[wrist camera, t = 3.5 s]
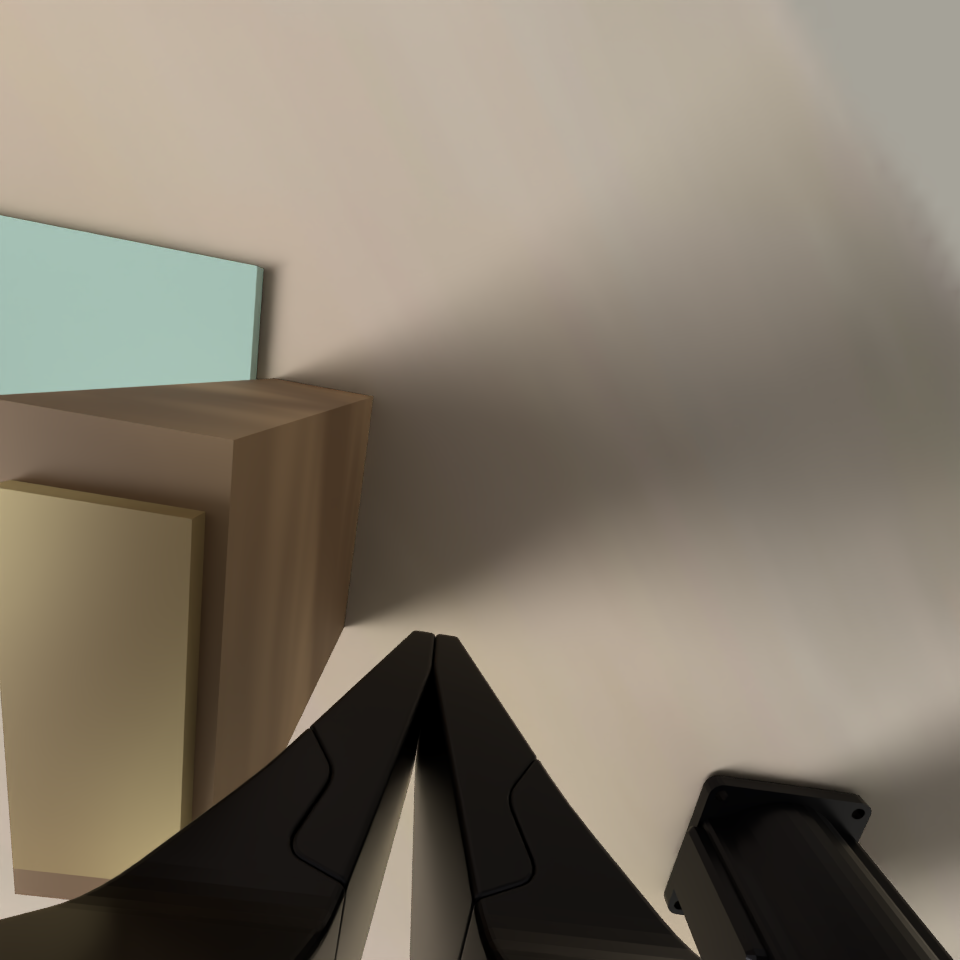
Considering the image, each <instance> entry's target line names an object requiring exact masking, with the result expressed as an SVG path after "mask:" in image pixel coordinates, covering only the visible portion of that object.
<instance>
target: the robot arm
mask: <svg viewBox="0 0 960 960" xmlns="http://www.w3.org/2000/svg"><path fill="white" fill-rule="evenodd" d="M417 746H418V747H417ZM416 751H417V755H416ZM415 757H416V764H415V788H414V825H413V861H412V898H411V935H410V960H953V959H952V957H951V956H950V955H949V954H948V952H947V951H946V950H945V949H944V948H943V946H942V945H941V944H940V943H939V941H938V940H937V939H936V938H935V936H934V935H933V934H932V933H931V932H930V930H929V929H928V928H927V927H926V925H925V924H924V923H923V922H922V921H921V919H920V918H919V917H918V916H917V914H916V913H915V912H914V911H913V910H912V908H911V907H910V906H909V905H908V903H907V902H906V901H905V900H904V899H903V897H902V896H901V895H900V894H899V892H898V891H897V890H896V889H895V887H894V886H893V885H892V884H891V883H890V881H889V880H888V879H887V878H886V876H885V875H884V874H883V873H882V872H881V870H880V869H879V868H878V867H877V865H876V864H875V863H874V862H873V861H872V859H871V858H870V857H869V856H868V854H867V853H866V852H865V851H864V850H863V848H862V847H861V846H860V845H859V843H858V841H859V839H860V837H861V834H862V832H863V830H864V828H865V826H866V824H867V822H868V820H869V818H870V816H871V808H870V807H869V806H868V805H867V804H866V802H865V801H864V800H863V799H862V798H861V797H860V796H859V795H856V794H850V793H842V792H835V791H828V790H820V789H813V788H805V787H798V786H791V785H783V784H776V783H769V782H761V781H754V780H746V779H739V778H732V777H724V776H714V777H711V778H709V779H708V780H707V781H706V782H705V783H704V785H703V788H702V791H701V793H700V796H699V799H698V802H697V804H696V807H695V810H694V813H693V815H692V818H691V821H690V824H689V826H688V829H687V832H686V834H685V837H684V840H683V843H682V845H681V848H680V851H679V854H678V856H677V859H676V862H675V865H674V867H673V870H672V873H671V876H670V878H669V881H668V884H667V886H666V889H665V892H664V898H665V901H666V903H667V906H668V908H669V911H671V912H672V913H674V914H680V915H684V916H685V918H686V921H687V923H688V926H689V928H690V931H691V934H692V936H693V939H694V941H695V944H696V946H697V949H698V951H699V954H700V957H701V958H700V957H699V956H698V955H697V954H695V953H694V952H693V951H692V950H691V949H690V948H689V947H688V946H687V945H686V944H685V943H684V942H683V941H682V940H681V939H680V938H679V937H678V936H677V935H676V934H675V933H674V932H673V931H672V930H671V928H670V927H669V926H668V925H667V924H666V923H665V922H664V920H663V919H662V918H661V917H660V916H659V914H658V913H657V912H656V911H655V910H654V908H653V907H652V906H651V905H650V903H649V902H648V901H647V900H646V899H645V897H644V896H643V895H642V894H641V892H640V891H639V890H638V889H637V888H636V886H635V885H634V884H633V883H632V881H631V880H630V879H629V878H628V877H627V875H626V874H625V873H624V872H623V871H622V869H621V868H620V867H619V866H618V864H617V863H616V862H615V861H614V860H613V858H612V857H611V856H610V855H609V853H608V852H607V851H606V850H605V849H604V847H603V846H602V845H601V844H600V842H599V841H598V840H597V839H596V838H595V836H594V835H593V834H592V833H591V831H590V830H589V829H588V827H587V826H586V825H585V824H584V822H583V821H582V820H581V818H580V817H579V816H578V815H577V813H576V812H575V811H574V810H573V808H572V807H571V806H570V804H569V803H568V802H567V800H566V799H565V797H564V796H563V794H562V793H561V792H560V790H559V789H558V787H557V786H556V784H555V783H554V782H553V780H552V779H551V777H550V776H549V774H548V773H547V771H546V770H545V768H544V767H543V765H542V764H541V762H540V761H539V760H537V758H536V755H535V754H534V752H533V751H532V749H531V748H530V746H529V745H528V743H527V741H526V740H525V738H524V737H523V735H522V734H521V732H520V731H519V729H518V728H517V726H516V725H515V723H514V722H513V720H512V719H511V717H510V716H509V714H508V713H507V711H506V710H505V708H504V707H503V705H502V704H501V702H500V701H499V699H498V698H497V696H496V695H495V693H494V692H493V690H492V689H491V687H490V686H489V684H488V683H487V681H486V680H485V678H484V677H483V675H482V673H481V672H480V670H479V669H478V667H477V666H476V664H475V663H474V661H473V660H472V658H471V657H470V655H469V654H468V652H467V651H466V649H465V648H464V646H463V645H462V643H461V642H460V640H459V639H458V638H457V637H455V636H449V635H442V634H438V635H437V636H436V637H435V635H434V634H433V633H429V632H423V631H413V632H412V633H411V634H410V635H409V636H408V637H407V638H405V639H404V640H403V641H402V642H401V643H400V644H399V645H398V646H397V647H396V648H395V649H394V650H392V651H391V652H390V653H389V654H388V655H387V656H386V657H385V658H384V659H383V660H382V661H381V662H379V663H378V664H377V665H376V666H375V667H374V668H373V669H372V670H371V671H370V672H369V673H368V674H366V675H365V676H364V677H363V678H362V679H361V680H360V681H359V682H358V683H357V684H356V685H355V686H354V687H352V688H351V689H350V690H349V691H348V692H347V693H346V694H345V695H344V696H343V697H342V698H341V699H339V700H338V701H337V702H336V703H335V704H334V705H333V706H332V707H331V708H330V709H329V710H328V711H326V712H325V713H324V714H323V715H322V716H321V717H320V718H319V719H318V720H317V721H316V722H315V723H313V724H312V725H311V726H310V729H307V730H305V731H304V732H303V733H302V734H301V735H300V736H299V737H298V738H297V739H296V740H295V741H294V742H293V743H291V744H290V745H289V746H288V747H287V748H286V749H285V750H283V751H282V752H281V753H280V754H279V755H278V756H276V757H275V758H274V759H273V760H272V761H271V762H270V763H268V764H267V765H266V766H265V767H264V768H262V769H261V770H260V771H258V772H257V773H256V774H255V775H253V776H252V777H251V778H249V779H248V780H247V781H246V782H244V783H243V784H242V785H240V786H239V787H238V788H237V789H235V790H234V791H233V792H231V793H230V794H229V795H227V796H226V797H225V798H223V799H222V800H221V801H219V802H218V803H216V804H215V805H214V806H212V807H211V808H210V809H208V810H207V811H206V812H204V813H203V814H202V815H200V816H199V817H197V818H196V819H195V820H193V821H192V822H191V823H189V824H188V825H187V826H185V827H184V828H183V829H181V830H180V831H179V832H177V833H176V834H174V835H173V836H172V837H170V838H169V839H168V840H166V841H165V842H164V843H162V844H161V845H160V846H158V847H157V848H156V849H154V850H153V851H151V852H150V853H149V854H147V855H146V856H145V857H143V858H142V859H141V860H139V861H138V862H136V863H135V864H134V865H132V866H131V867H129V868H128V869H126V870H125V871H123V872H122V873H121V874H119V875H117V876H116V877H114V878H112V879H111V880H109V881H107V882H106V883H104V884H102V885H101V886H99V887H97V888H95V889H93V890H91V891H89V892H87V893H85V894H83V895H81V896H79V897H77V898H74V899H72V900H69V901H67V902H64V903H61V904H58V905H55V906H51V907H48V908H44V909H40V910H36V911H32V912H28V913H24V914H20V915H17V916H13V917H9V918H5V919H1V920H0V960H361V958H362V954H363V951H364V947H365V943H366V940H367V936H368V932H369V929H370V925H371V921H372V918H373V914H374V910H375V907H376V903H377V899H378V896H379V892H380V888H381V885H382V881H383V877H384V874H385V870H386V866H387V863H388V859H389V855H390V852H391V848H392V844H393V841H394V837H395V833H396V830H397V826H398V822H399V819H400V815H401V811H402V808H403V804H404V800H405V797H406V793H407V789H408V786H409V782H410V778H411V774H412V770H413V766H414V762H415Z"/></svg>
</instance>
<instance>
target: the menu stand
mask: <svg viewBox="0 0 960 960" xmlns="http://www.w3.org/2000/svg"><path fill="white" fill-rule="evenodd" d="M372 403H373V396H368V395H362V394H357V393H351V392H346V391H341V390H335V389H330V388H324V387H319V386H313V385H308V384H302V383H297V382H291V381H286V380H280V379H275V378H272V379H255V380H239V381H222V382H205V383H189V384H172V385H155V386H139V387H122V388H105V389H89V390H72V391H56V392H39V393H22V394H6V395H0V691H1V705H2V719H3V733H4V747H5V761H6V775H7V789H8V803H9V817H10V831H11V845H12V858H13V872H14V886H15V894H21V895H31V896H40V897H50V898H59V899H68V900H72V899H74V898H77V897H79V896H81V895H83V894H85V893H87V892H89V891H91V890H93V889H95V888H97V887H99V886H101V885H102V884H104V883H106V882H107V881H109V880H111V879H112V878H114V877H116V876H117V875H119V874H121V873H122V872H123V871H125V870H126V869H128V868H129V867H131V866H132V865H134V864H135V863H136V862H138V861H139V860H141V859H142V858H143V857H145V856H146V855H147V854H149V853H150V852H151V851H153V850H154V849H156V848H157V847H158V846H160V845H161V844H162V843H164V842H165V841H166V840H168V839H169V838H170V837H172V836H173V835H174V834H176V833H177V832H179V831H180V830H181V829H183V828H184V827H185V826H187V825H188V824H189V823H191V822H192V821H193V820H195V819H196V818H197V817H199V816H200V815H202V814H203V813H204V812H206V811H207V810H208V809H210V808H211V807H212V806H214V805H215V804H216V803H218V802H219V801H221V800H222V799H223V798H225V797H226V796H227V795H229V794H230V793H231V792H233V791H234V790H235V789H237V788H238V787H239V786H240V785H242V784H243V783H244V782H246V781H247V780H248V779H249V778H251V777H252V776H253V775H255V774H256V773H257V772H258V771H260V770H261V769H262V768H264V767H265V766H266V765H267V764H268V763H270V762H271V761H272V760H273V759H274V758H275V757H276V756H278V755H279V754H280V753H281V752H282V751H283V750H285V749H286V747H287V745H288V743H289V741H290V739H291V736H292V734H293V732H294V730H295V728H296V726H297V724H298V722H299V720H300V718H301V716H302V714H303V712H304V709H305V707H306V705H307V703H308V701H309V699H310V697H311V695H312V693H313V691H314V689H315V687H316V684H317V682H318V680H319V678H320V676H321V674H322V672H323V670H324V668H325V666H326V664H327V662H328V659H329V657H330V655H331V653H332V651H333V649H334V647H335V645H336V643H337V641H338V639H339V637H340V634H341V632H342V630H343V628H344V623H345V615H346V607H347V599H348V592H349V584H350V576H351V568H352V560H353V552H354V544H355V537H356V529H357V521H358V513H359V505H360V497H361V490H362V482H363V474H364V466H365V458H366V450H367V442H368V435H369V427H370V419H371V411H372Z"/></svg>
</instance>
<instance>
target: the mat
mask: <svg viewBox="0 0 960 960" xmlns="http://www.w3.org/2000/svg"><path fill="white" fill-rule="evenodd" d="M263 270H264V269H263V268H260V267H258V266H255V265H250V264H245V263H240V262H234V261H229V260H224V259H219V258H214V257H209V256H204V255H199V254H194V253H189V252H184V251H179V250H174V249H169V248H164V247H158V246H153V245H148V244H143V243H138V242H133V241H128V240H123V239H118V238H113V237H108V236H103V235H98V234H93V233H88V232H83V231H77V230H72V229H67V228H62V227H57V226H52V225H47V224H42V223H37V222H32V221H27V220H22V219H17V218H12V217H7V216H1V215H0V395H6V394H22V393H39V392H56V391H72V390H89V389H105V388H122V387H139V386H155V385H172V384H189V383H205V382H222V381H239V380H255V379H256V374H257V359H258V344H259V330H260V315H261V300H262V285H263Z"/></svg>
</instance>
